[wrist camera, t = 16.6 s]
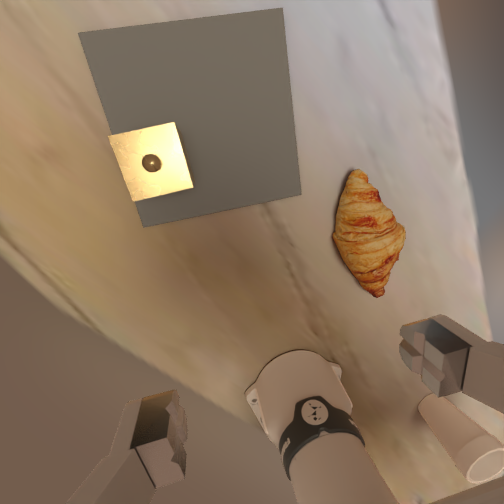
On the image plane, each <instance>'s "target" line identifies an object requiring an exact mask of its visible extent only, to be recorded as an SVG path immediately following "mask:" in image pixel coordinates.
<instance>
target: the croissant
mask: <svg viewBox="0 0 504 504" xmlns="http://www.w3.org/2000/svg"><path fill="white" fill-rule="evenodd" d="M335 230H336V232H334V233H333V239H334V241H335V243H336V245H337V248H338V250H339V252H340V255H341V257H342V259H343V260H344V262H345V263H346V265H347V266H348V268H349V269H350V270H351V272H352V274H353V275H354V276H355V278H357V279H358V281H359V283H360V285H361V286H362V288H363V289H365V290H366V291H368V292H369V293H371V294H372V295H373V296H374V297H376V298H378V297H380V296H382V295H384V293H385V290H384V286H385V285H386V283H387V282H388V279H389V275H390V273H391V272H390V270H391V268H392V267H393V265H394V263H395V262H396V261H397V260H399V259H398V258H399V253H400V251H401V249H402V248H403V246H404V241H405V239H406V238H405V233H406V232H405V228H404V227H403V226H402V225H401V224H399V223H397V222H396V218H395V216H394V215H393V212H392V211H391V210H390V209H388V208H386V206H385V205H383V202H382V201H381V199H380V196H379V192H378V190H377V189H376V188H374V187H373V186H372V185H371V184H369V183H368V177H367V174H365V173H364V172H363V171H361V170H360V169H357V170H353V171H352V172H351V174H350V175H349V177H348V180H347V182H346V186H345V188H344V191H343V193H342V195H341V198H340V201H339V207H338V210H337V214H336V227H335Z"/></svg>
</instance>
